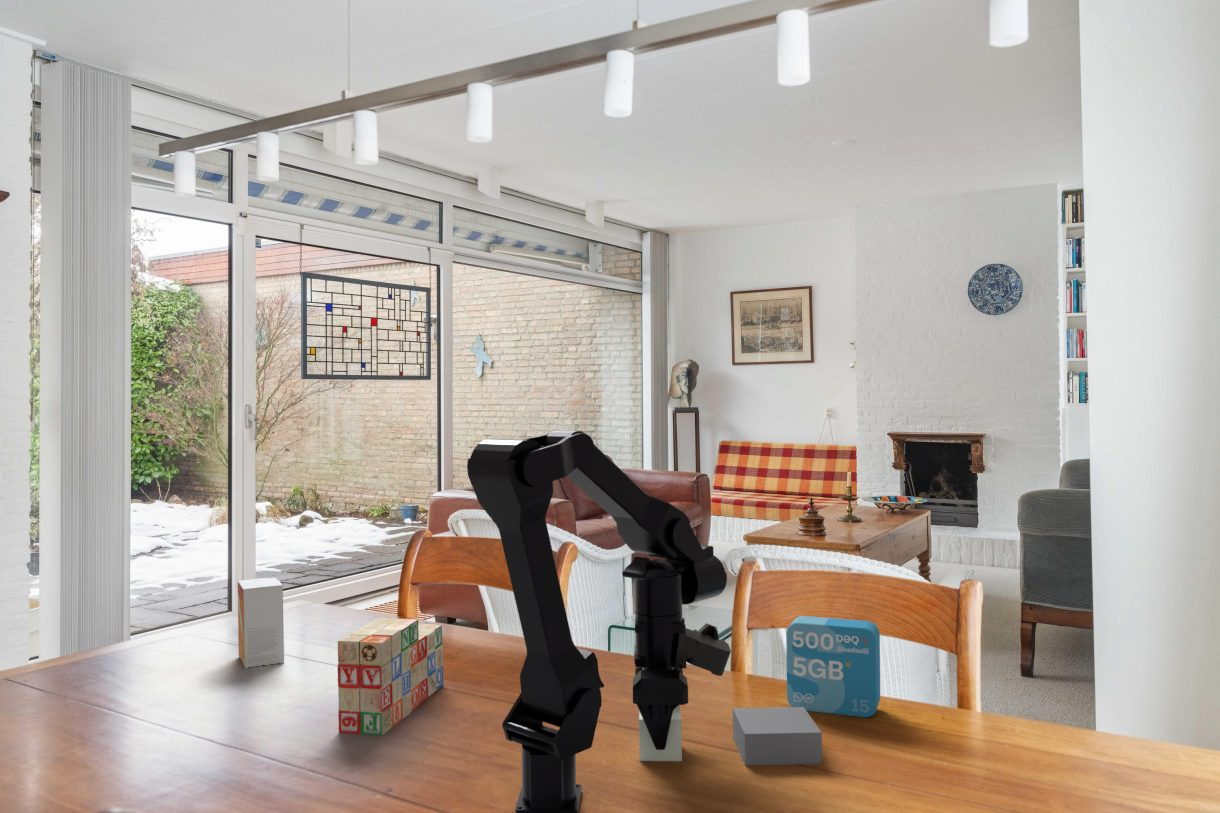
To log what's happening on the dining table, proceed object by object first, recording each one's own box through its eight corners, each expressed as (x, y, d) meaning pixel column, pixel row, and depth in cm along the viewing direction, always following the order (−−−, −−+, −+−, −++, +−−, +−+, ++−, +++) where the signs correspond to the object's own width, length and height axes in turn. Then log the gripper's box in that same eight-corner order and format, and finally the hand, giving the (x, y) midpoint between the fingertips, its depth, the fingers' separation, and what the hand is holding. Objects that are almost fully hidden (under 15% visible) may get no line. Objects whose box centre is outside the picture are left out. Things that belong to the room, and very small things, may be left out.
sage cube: (681, 761, 109) (681, 719, 109) (639, 761, 109) (639, 719, 109) (680, 745, 114) (679, 705, 114) (639, 745, 114) (639, 705, 114)
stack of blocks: (405, 683, 141) (404, 603, 141) (444, 685, 140) (443, 604, 139) (337, 733, 120) (336, 639, 120) (382, 736, 119) (381, 640, 118)
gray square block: (821, 766, 108) (821, 732, 108) (745, 768, 108) (744, 734, 107) (803, 738, 117) (803, 706, 117) (732, 739, 117) (732, 708, 116)
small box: (237, 657, 156) (236, 580, 156) (277, 651, 159) (276, 576, 159) (243, 669, 149) (242, 588, 149) (284, 663, 152) (283, 584, 152)
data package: (786, 709, 127) (785, 621, 127) (793, 699, 131) (792, 614, 131) (876, 719, 122) (876, 629, 122) (880, 708, 127) (879, 621, 126)
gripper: (732, 630, 102) (734, 771, 102) (719, 594, 121) (720, 714, 121) (631, 630, 102) (633, 770, 102) (634, 595, 121) (635, 713, 121)
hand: (660, 740), depth 112 cm, fingers open, 6 cm apart
